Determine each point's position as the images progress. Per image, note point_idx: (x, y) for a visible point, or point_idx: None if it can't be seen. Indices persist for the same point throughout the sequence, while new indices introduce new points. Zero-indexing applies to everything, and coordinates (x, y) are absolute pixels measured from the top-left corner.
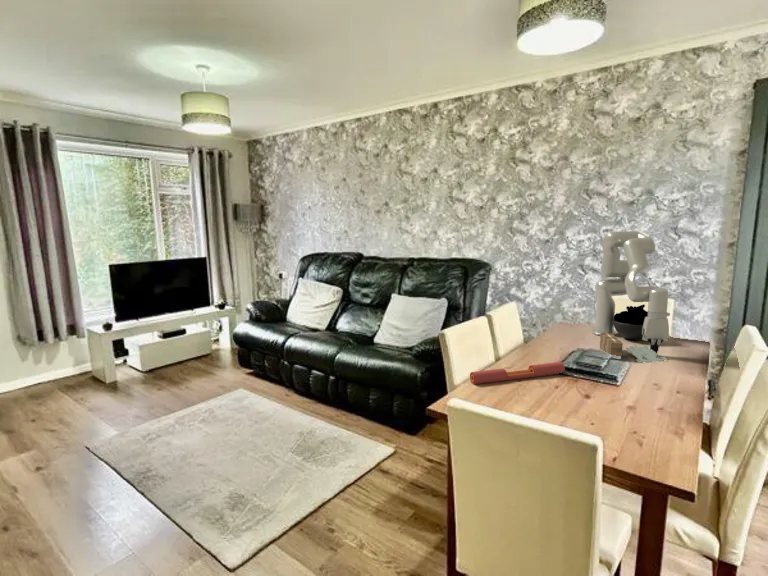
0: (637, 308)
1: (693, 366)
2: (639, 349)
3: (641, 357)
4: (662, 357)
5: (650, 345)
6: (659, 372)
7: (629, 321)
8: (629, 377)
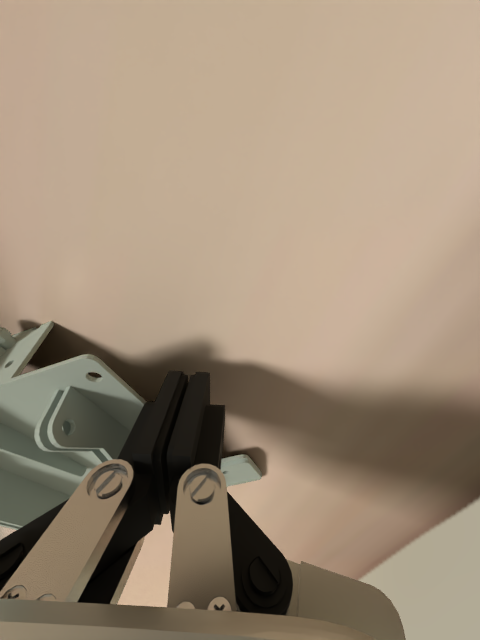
0: None
1: (359, 544)
2: (13, 446)
3: (55, 505)
4: (230, 469)
5: (123, 450)
6: (132, 602)
7: None
8: None
